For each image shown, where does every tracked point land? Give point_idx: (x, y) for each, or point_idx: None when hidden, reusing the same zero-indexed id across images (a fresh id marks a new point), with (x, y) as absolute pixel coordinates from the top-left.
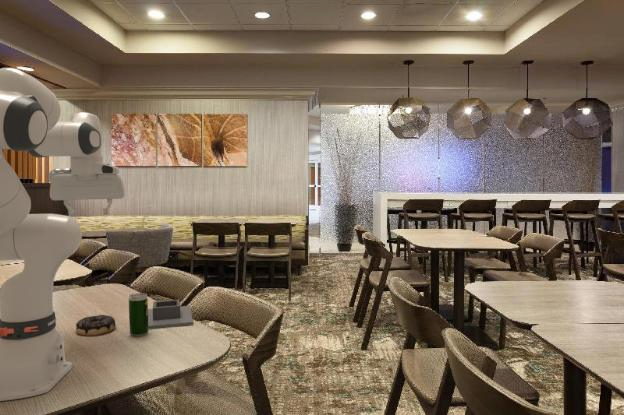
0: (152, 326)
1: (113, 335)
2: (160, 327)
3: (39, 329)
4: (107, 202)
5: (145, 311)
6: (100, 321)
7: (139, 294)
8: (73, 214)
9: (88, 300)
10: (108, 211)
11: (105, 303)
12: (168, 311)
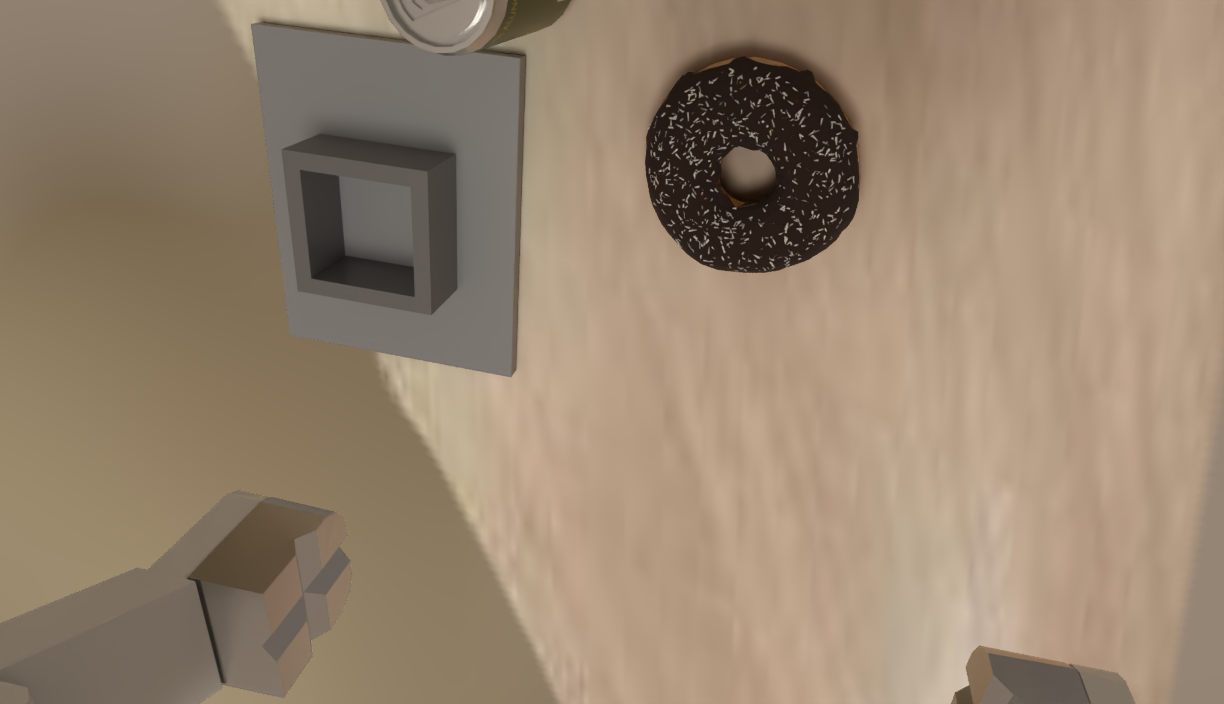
0: None
1: (664, 17)
2: None
3: None
4: (19, 697)
5: None
6: (723, 124)
7: (427, 13)
8: (999, 650)
9: (767, 684)
10: (206, 533)
11: (692, 601)
12: (357, 151)
